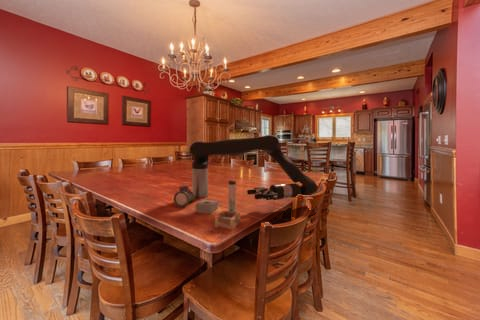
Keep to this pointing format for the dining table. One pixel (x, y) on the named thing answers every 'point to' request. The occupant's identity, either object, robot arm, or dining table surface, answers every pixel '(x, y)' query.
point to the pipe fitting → (183, 196)
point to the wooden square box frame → (227, 219)
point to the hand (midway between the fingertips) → (251, 194)
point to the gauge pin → (232, 196)
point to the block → (206, 206)
